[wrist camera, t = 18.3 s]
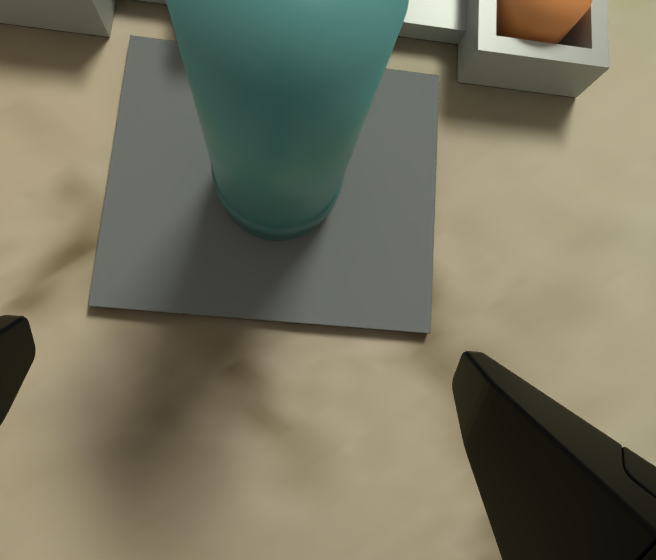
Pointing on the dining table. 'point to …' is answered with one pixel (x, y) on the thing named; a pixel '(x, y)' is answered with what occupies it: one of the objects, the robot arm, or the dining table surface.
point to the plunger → (538, 18)
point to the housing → (421, 23)
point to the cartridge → (283, 99)
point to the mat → (251, 251)
